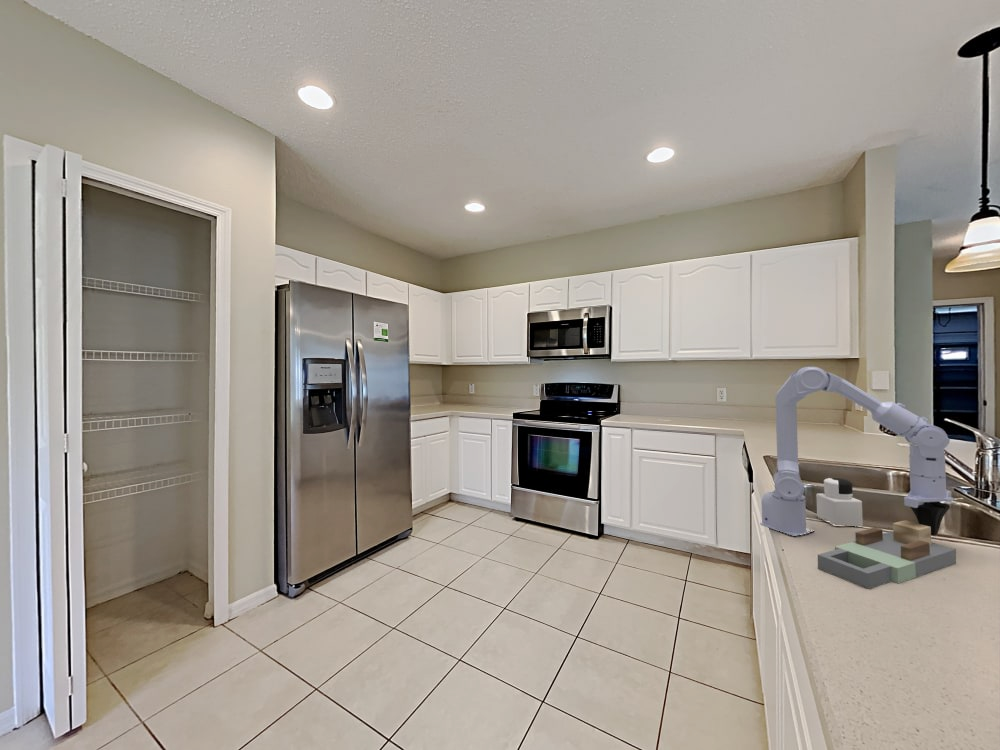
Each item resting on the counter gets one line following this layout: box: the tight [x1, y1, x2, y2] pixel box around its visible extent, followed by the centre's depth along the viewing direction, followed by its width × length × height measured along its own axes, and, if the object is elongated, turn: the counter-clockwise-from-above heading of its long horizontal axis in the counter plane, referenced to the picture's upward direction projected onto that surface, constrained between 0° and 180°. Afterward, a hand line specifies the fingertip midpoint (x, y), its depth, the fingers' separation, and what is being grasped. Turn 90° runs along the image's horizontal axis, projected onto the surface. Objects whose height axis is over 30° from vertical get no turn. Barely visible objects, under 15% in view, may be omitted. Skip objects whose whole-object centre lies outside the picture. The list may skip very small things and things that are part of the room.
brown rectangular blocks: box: [855, 526, 930, 561], centre depth 87 cm, size 10×7×2 cm
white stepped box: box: [816, 477, 864, 528], centre depth 111 cm, size 7×7×12 cm
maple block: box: [892, 519, 932, 545], centre depth 90 cm, size 4×4×4 cm
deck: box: [817, 530, 957, 590], centre depth 87 cm, size 11×28×3 cm, turn 110°
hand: (929, 533), depth 92 cm, fingers closed
